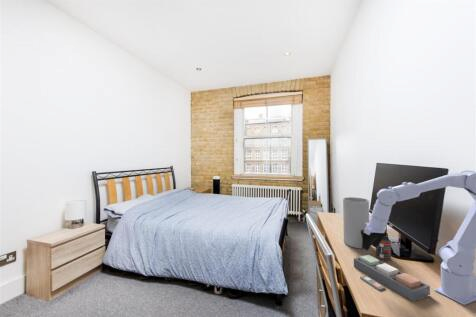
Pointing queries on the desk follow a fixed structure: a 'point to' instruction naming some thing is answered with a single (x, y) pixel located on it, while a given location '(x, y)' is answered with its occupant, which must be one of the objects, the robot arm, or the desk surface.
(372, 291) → the desk surface
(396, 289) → the grey divided tray
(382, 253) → the supplement bottle
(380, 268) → the white key
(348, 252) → the desk surface
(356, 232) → the cylinder vase
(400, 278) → the terracotta key
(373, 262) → the sage key
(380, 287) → the card
